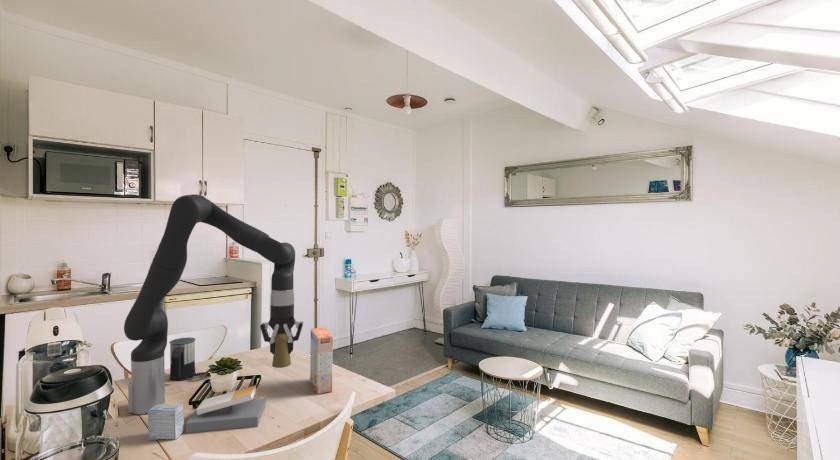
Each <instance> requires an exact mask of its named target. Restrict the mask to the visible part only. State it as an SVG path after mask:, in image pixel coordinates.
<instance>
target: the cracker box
mask: <svg viewBox="0 0 840 460" xmlns="http://www.w3.org/2000/svg"><path fill="white" fill-rule="evenodd" d="M333 339H334V337H333V335H332V334H331V333H330V332H329V331H328V330H327V329H326V327H317V328H311V329H310V367H309V368H310V372H309V375H310V376H309V379H310V383H311V385H312V387H313V389H314V391H315V392H316V394H317V395H320V394H325V393H326V394H327V393H331V392H333V350H334V349H333V348H334V347H333V346H334V345H333Z"/></svg>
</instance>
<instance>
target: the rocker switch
mask: <svg viewBox="0 0 840 460" xmlns="http://www.w3.org/2000/svg"><path fill="white" fill-rule="evenodd" d="M256 392H257V386H256V385H252V386H247V387H244V388H242V389H237V390H234V391H231V392H227V393H224V394H220V395H217V396H213V397H209V398H205V399H203V400H202V401H201V403H200V404H199V405H198V406H199V407H198V406H197V408H196V409H197V410H196V409H195V410H196V411H197V415H199V414H203V413H206V412H210V411H213V410H217V409H221V408H224V407H228V406H231V405H235V404H238V403H242V402H246V401H249V400H252V399H254V396H255V395H256Z"/></svg>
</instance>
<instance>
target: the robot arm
mask: <svg viewBox="0 0 840 460" xmlns="http://www.w3.org/2000/svg"><path fill="white" fill-rule="evenodd" d="M171 204H172V205H171V208H170V210H169V215H168V218H167V222H166V226H165V230H164V232H163V235H162V237H161V239H160V242H159V244H158V247H157V250H156V252H155V254H154V256H153V259H152V261H151V263H150V267H149V269H148V271H147V274H146V277H145V279H144V282H143V284H142V287H141V288H140V290H139V294H138V295H137V296H136V297H137V298H136V299H135V301H134V303H133V305H132V307H131V309H130V310H129V312H128V314H127V316H126V318H125V320H124V324H123V331H124V334H125V337H126V338H127V339H128V340H130V341H134V342H135V341H136V342H137V341H140V342H139V344H138V345H137V346H136V347H134V349H133V350H131V351H130V352H131V353H130V360H131V361H130V380H131V381H130V383H129V384H128V385H127V386H128V388H127V389H128V395H127V396H128V403H127V404H128V414H133V415H146V413H147V414H148V411H149V410H150V409H152V408H153V407H154V406H156V405H157V404H166V401H165V400H166V398H165V397H166V396H165V395H166V389H165V388H166V386H165V385H166V384H165V383H166V382H165V380H166V378H165V374H166V373H165V351H166V348H167V346H168V345H167V344H168V333H169V332H168V331H169V330H168V328H169V321H168V316H167V314H166V312H165V311H164V310H163V309H162V308H160V307H158V306H159V304H160V303H161V302H162V301H163V300H164V298H165V297H166V296H167V295H169V293H170V292H171V291H172V290H173V289H174V288H175V286H177V285H178V283H179V281H180V279H181V277H182V275H183V272H184V271H185V268H186V266H187V265H186V264H187V262H188V242H189V239H190V236H191V234H192V233H193V230H194V228H195V226H196V225H197V224H198V223H203V224H206V225H209V226H211V227H214V228H216V229H218V230H220V231H221V232H223V233H224V234H225V235H226V236H228V238H230V240H232V241H233V242H235V243H237V244H238V245H240V246H242V247H244V248H246V249H247V250H251V251H253V252H255V253H257V254H259V255H260V256H261V257H263V258H264V259H266V260H268V261H269V262H270V263H273V265H274V266H273V272H272V275H271V279H270V284H271V285H270V286H271V287H270V288H271V290H270V297H269V298H270V300H269V301H270V305H269V306H270V307H269V309H270V311H269V315H270V316H269V321H268V322H267V321H266V322H262V323H261V324H260V326H259V328H260V330H261V331H260V332H261V334H262V338H263V341H264V342H266V343H267V342H268V343H269V352H270V353H271V354H272V355H274V350H275V341H274V337H275V336H276V334H277V333H286V335H287V337H289V341H288V353H289V354H290V355H291V354H292V353H293V351H294V342H295V341H296V342H297V341H298V340H299V338H300V336H301V333H302V329H303V325H304V321H296V319H295V291H294V272H295V271H294V270H295V265H296V263H295V262H296V250H295V248H294V246H293V245H292V244H291V243H289V242H280V241H278V240H277V239H274V238H272V237H271V236H270V235H269V234H267V233H266V232H265V231H262V230H261V229H258V228H256V227H254V226H252V225H250V224H248V223H246V222H245V221H242V220H240V219H238V218H236V217H235V216H233V215H232V214H230V213H228V212H227V211H225V210H223V209H222V208H221V207H219V206H218V205H216V204H215V203H214V202H213V201H211V200H210V199H208V198H207V197H206V196H203V195H201V194H195V193H193V194H187V195H181V196H179V197H177V198H176V199H175V200H174V201H173V203H171ZM294 326H295V328H296V329H297V330H296V333H295V335H293V332H292V328H293V327H294ZM269 327H270V328H271V330H272V333H271V336H269V332H268V329H269Z"/></svg>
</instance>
